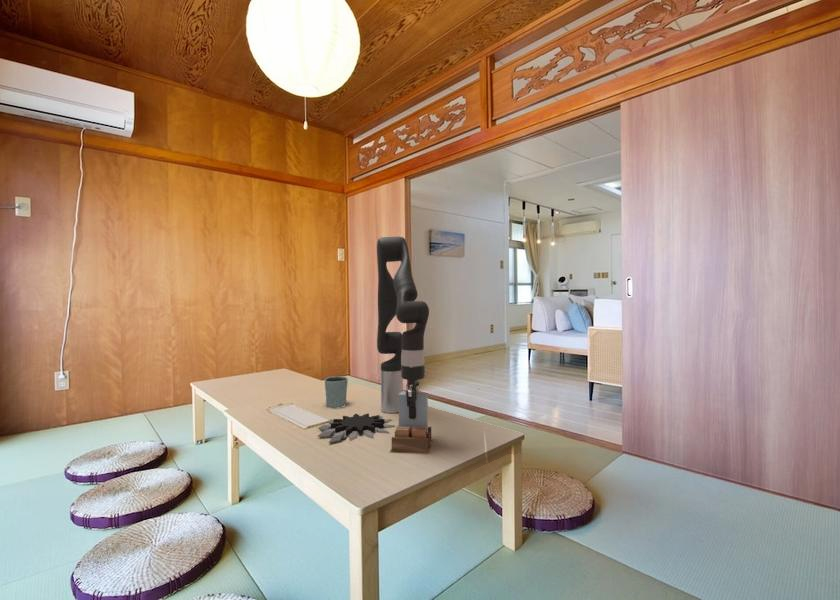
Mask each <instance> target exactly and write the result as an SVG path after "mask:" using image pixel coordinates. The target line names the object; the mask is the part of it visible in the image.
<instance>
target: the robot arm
mask: <svg viewBox="0 0 840 600" xmlns="http://www.w3.org/2000/svg"><path fill="white" fill-rule="evenodd" d="M376 255H377V256H376V257H377V276H378V277H377V278H378V281H377V313H378V315H377V316H378V317H377V318H378V320H377V321H378V322H377V335H376V337H377V339H376V346H377V347H376V349H377V351H378V353H379V354H382V355H391V354H392V355H394V356H393V357H392V358H389V359H388V360H386V361H383V362H381V364H380V410H381V412H383V413H386V414H395V413H399V393H400V392H404V391H403V387H404V386H403V385H404V384H403V383H404V382H403V381H404V380H406V381H407V383H406V385H405V392H406V398H407V407H409V418H410V419H415V418H416V406H417V405H416V400H417V399H418V393H420V388H421V383H420V381H419V380H423V379H424V378H425V372H426V369H425V366H426V365H425V362H426V361H425V349H424V347H425V346H424V343H425V342H424V340H425V339H424V337H425V332H426V327H427V323H428V320H429V315H430V309H429V305H428V304H427V303H426V302H425V301H423V300H416V299H417V298H418V289H417V287H416V284H415V281H414V277H413V274H412V266H411V260H410V252H409V247H408V243H407V241H406V239H405V238H404V237H403V236H383V237H381V236H380V237H379V238H378V239H377V241H376ZM390 262H391V263H392V262H393V263H394V262H395V263H396V262H400V264H399V266H398V267H399V268H398V269H397V271H396V273H395V275H394V277H393V276H392V275H391V273H390V271H389V269H388V266H387V263H390ZM395 317H396V319H397V320H398V322H399V323H400V324H401V323H402V324H415V326H414V327H413V328H412V329H409V330H405V331H403V332H401V331H387V329H388V327H389V325H390V323H391V322H392V321H393V319H394V318H395ZM415 396H416V397H415ZM410 401H413V403H410Z"/></svg>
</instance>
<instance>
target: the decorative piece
mask: <svg viewBox="0 0 840 600" xmlns="http://www.w3.org/2000/svg"><path fill="white" fill-rule="evenodd" d="M328 420H329V421H328V423H327V424H323V425H320V426H318V427H317V429H318V430H319V431H321V432H320V434H318V435H317V438H320V439H329V438H330V439H329V441H328V443H329V444H336V443H340V441H341V442H343V440H347V439H348V440H349V441H350V442H351V441H352V442H353V441H354V440H357V439H358V436H365V437H366V438H368V439H373V440H374V433H379V434H391V433H390V432H389V431H388V430H385V429H391V428H396V426H395V425H394V424H388V423H390V422H392V421H393V422H394V420H392V419H389V418H388V419H386V418H384V417H383V416H382V415H379V414H378V415H372V416H370V413H368V412H367V413H365V414H364V413H363V414H361V415H360V414H358V413H354V414H353V416H349V415H342V418H333V419H332V418H331V419H328Z"/></svg>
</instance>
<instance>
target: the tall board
mask: <svg viewBox="0 0 840 600" xmlns="http://www.w3.org/2000/svg"><path fill="white" fill-rule="evenodd" d="M428 396H429V395H428V392H419V393H418V399H417V400H416V405H417V406H416V418H415V419H410V418H409V407H407V398H406V391H405V392H404V391H403V392H400V393H399V412H398V426H399V427H410V432H412V429H413V427H425V428H426V432H428V427H429V425H428V423H429V422H428V421H429V411H428V410H429V407H428V406H429V405H428V404H429V403H428V399H429V398H428ZM415 397H416V396H415ZM410 403H413V401H410Z"/></svg>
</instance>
